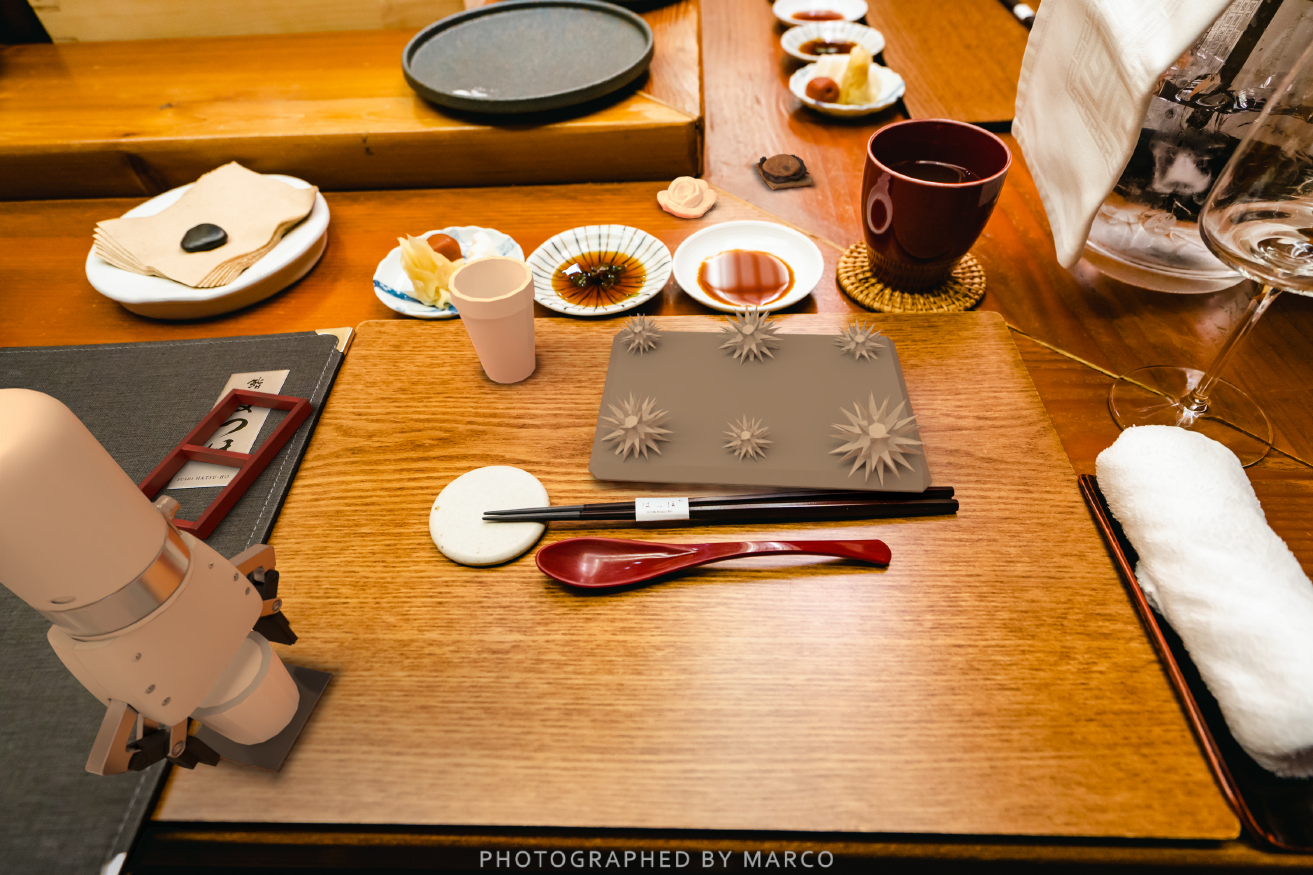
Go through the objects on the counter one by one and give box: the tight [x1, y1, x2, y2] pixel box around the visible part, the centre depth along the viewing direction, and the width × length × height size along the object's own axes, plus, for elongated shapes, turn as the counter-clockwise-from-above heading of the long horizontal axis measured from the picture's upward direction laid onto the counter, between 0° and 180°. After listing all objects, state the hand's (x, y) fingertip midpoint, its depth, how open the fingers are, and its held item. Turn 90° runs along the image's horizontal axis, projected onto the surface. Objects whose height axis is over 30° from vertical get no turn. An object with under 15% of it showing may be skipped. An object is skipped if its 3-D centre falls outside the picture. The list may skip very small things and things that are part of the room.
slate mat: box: [194, 662, 335, 774], centre depth 55 cm, size 8×8×1 cm
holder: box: [136, 387, 314, 540], centre depth 75 cm, size 10×19×2 cm, turn 168°
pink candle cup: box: [188, 630, 300, 745], centre depth 53 cm, size 7×7×7 cm
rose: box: [656, 176, 718, 219], centre depth 113 cm, size 10×4×10 cm
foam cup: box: [447, 255, 536, 384], centre depth 81 cm, size 10×9×13 cm
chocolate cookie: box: [755, 153, 813, 190], centre depth 120 cm, size 11×8×4 cm
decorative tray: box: [587, 304, 933, 493], centre depth 75 cm, size 35×26×10 cm
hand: (243, 694), depth 53 cm, fingers open, 9 cm apart
